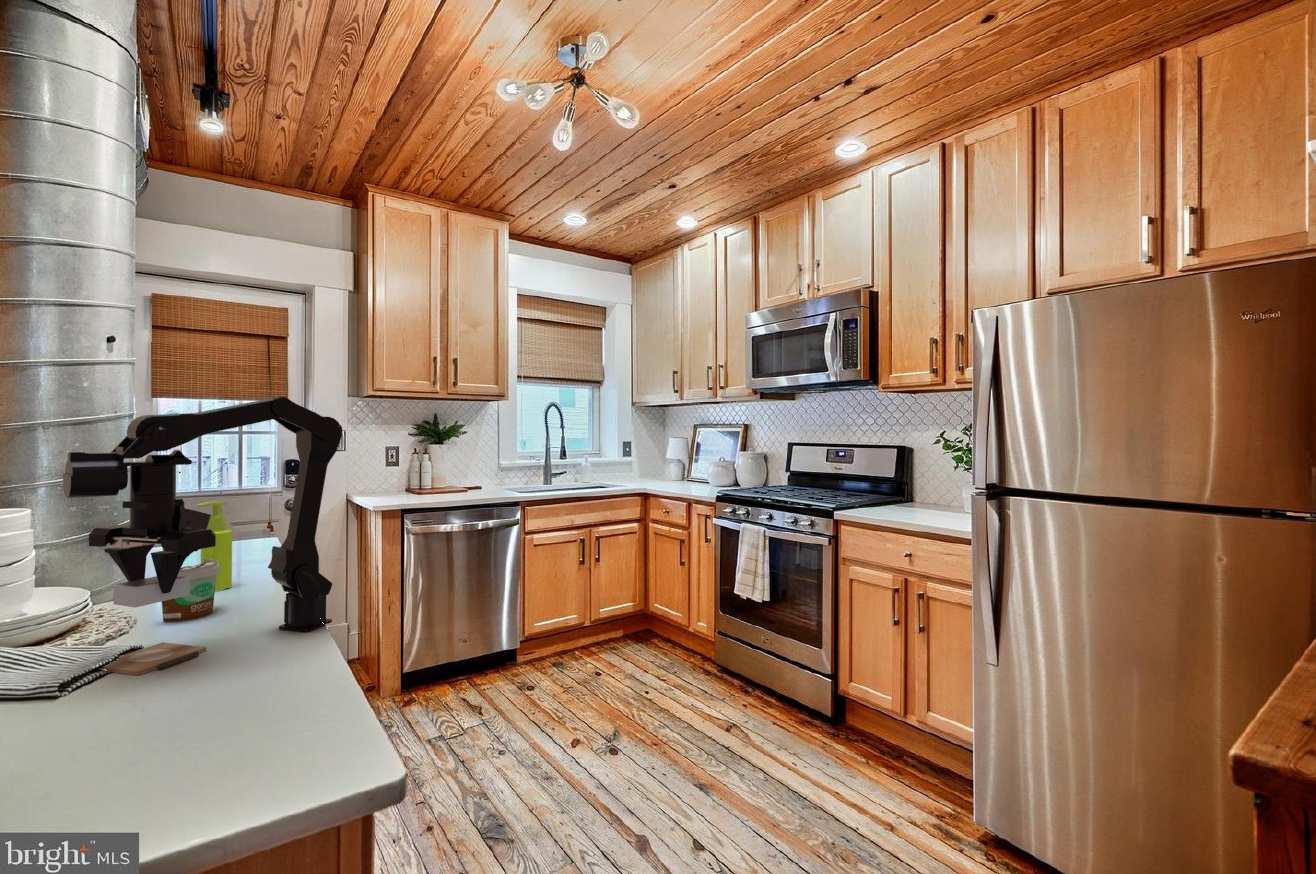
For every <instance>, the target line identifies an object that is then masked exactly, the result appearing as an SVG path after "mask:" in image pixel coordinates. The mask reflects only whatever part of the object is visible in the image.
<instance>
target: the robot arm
mask: <svg viewBox="0 0 1316 874" xmlns="http://www.w3.org/2000/svg"><path fill="white" fill-rule="evenodd" d="M272 420H273V421H275V422H276V423H278V424H279V425H281V426H282V427H283V428H285V429H287V430H288V431H289V432H291V433H293V434H295V445H296V446H295V447H296V451H297V456H298V458H299V467H298V472H297V479H296V483H295V490H294V494H293V500H292V501H293V502H292V507H291V512H290V517H289V522H288V523H289V524H288V530H287V535H286V538H285V540H283V542H282V544H281V546H276V545H274V546H272V548H271V561H270V563H269V564H268V566H267V568H268V569H270V570H271V571H270V572H271V577H272V578H273V580H274V581H275V583H278V584H280V585H281V589H283V592H286V593H285V600H284V603H283V604H284V605H283V606H284V607H283V610H284V611H283V615H284V616H283V622H284V623H283V624H280V625H279V626H278V629H279V630H286V631H296V632H310V631H313V630H316V629H318V628H320V627H323V626H325V625H328V624H330V623H333V619H332V618H327V596H328V595H329V594H330V592H331V590H332V587H333V582H331V581H330V580H329V579H328V578H327V577H325V576H324V575H323V574H321V573H320V555H319V551H318V547H317V544H316V535H317V529H318V522H319V518H320V517H319V516H320V512H321V505H322V500H323V494H324V488H325V481H326V476H327V470H328V465H329V464H330V462H331V460H332V459H333V457H334V456H335V454H336V453H337V451H338V448H339V446H340V442H341V440H342V438H343V427H342V425H341V424H340V422H339V421H338V420H337V419H335V418H334V417H331V416H322V415H320V414H319V413H317V412H316V411H313V410H310V409H308V408H306V407H304V406H302V405H299V404H297V403H296V402H294V401H292V400H291V399H289V398H288V397H286V396H281V395H280V396H269V397H267V398H264V399H261V400H255V401H250V402H246V403H240V404H234V405H229V406H224V407H220V408H215V409H209V410H208V409H207V410H203V411H199V412H193V413H192V412H191V413H168V414H167V413H165V414H146V415H140V416H138V417H136V418H134V419H133V420H132V421H131V422H130V423H129V424H128V426H127V429H126V436H125V437H124V438H123V439H122V440H120V442H119V443H118V444H117V445H116V446H115V447H114V448H113V449H112V450H111V451H110V452H82V451H69V452H68V453H67V460H66V464H65V466H64V467H65V468H64V473H62V487H63V493H64V496H65V499H81V498H82V499H83V498H95V497H96V498H97V497H99V498H100V497H114V496H118V494H119V491H123V490H126V489H127V487H128V481H129V500H124V501H122V509H129V523H121V524H114V525H107V526H106V525H105V526H99V527H94V528H93V529H92V531H90V532H89V534H88V546H89V547H98V548H103V547H106V546H107V545H108V544H109V548H104V549H103V551H104V553H107V554H108V555H109V556H110V558H111V559H112V560H113V561H114V563H115V564H116V565H117V567H118V568H119V570H120V571H121V573H122V574H123V576H124V578H125V579H126V580H127V582H130V581H135V580H140V579H145V578H146V568H147V567H146V565H147V558H148V557H147V556H148V554H149V553H150V552H151V550H153V548H154V547H155V545H160V546H161V548H162V550H159V551H155V552H151V553H150V557H151V559H152V564H153V567H154V571H155V574H156V576H157V579H158V583H159V586H160V589H161V591H162V593H163V594H166V593H170V592H171V590H172V587H173V585H174V583H175V580H176V578H177V576H178V573H179V571H180V569H181V568H182V567H183V564H184V562H185V560H186V559H187V558H188V557H189V556H190V555H191V554H193V553H194V552H198V551H199V550H201V549H204V548H209V547H214V546H216V534H215V533H214V532H213V531H212V530H211V529H208V524H209V521H210V518H211V515H212V514H210V513H205V512H202V511H198V510H195V509H190V508H185V501H184V499H183V498H177V466H178V465H179V466H181V465H182V466H185V465H186V466H188V465H192V464H193V460H192V459H190V458H189V457H186V455H184V454H183V452H182V451H181V450H179V449H174V448H177V447H179V446H181V445H185V444H187V443H189V442H192V441H194V440H196V439H198V438H200V437H202V436H205V435H209V434H212V433H216V432H222V431H227V430H230V429H234V428H239V427H240V428H241V427H244V426H249V425H254V424H258V423H261V422H267V421H272ZM171 449H174V450H173V451H171V453H169V454H151V453H152V452H167V451H169V450H171ZM145 456H146V458H145V461H143V460H142V461H125V459H142V458H144V457H145ZM128 467H129V472H128ZM320 618H321V619H320ZM322 622H323V623H324V624H325V625H324V624H323V623H322Z"/></svg>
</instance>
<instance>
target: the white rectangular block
mask: <svg viewBox="0 0 1316 874" xmlns="http://www.w3.org/2000/svg"><path fill="white" fill-rule="evenodd" d="M189 594H190V577H189V576H181V575H178V576H177V578H176V580H175V583H174V585H173V587H172V590H171V592H170V593H166V594H163V593H162V591H161V589H160V586H159V583H158V579H157V575H156V576H151V577H147V578H146V577H145V579H140V580H135V581H130V582H128V581H127V582H121V583H117V584H113V596H112V597H113V599H112V600H113V602H112V605H116V606H123V607H129V608H139V607H143V606H148V605H152V604H157V603H162V601H166V600H170V599H174V598H178V597H183V596H187V595H189Z"/></svg>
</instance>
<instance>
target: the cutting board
mask: <svg viewBox="0 0 1316 874" xmlns="http://www.w3.org/2000/svg"><path fill="white" fill-rule="evenodd" d="M204 652H207V647H205V646H198V645H189V644H188V645H187V644H182V643H181V644H180V643H172V642H171V643H170V642H160V643H156V644H153V645H150V646H148V647H144V648H141V649H138V650H136V651H132V652H130V653H129V652H128V653H125V654H122V655H120V656H121V657H119V656H118V657H119V658H120V659H118V660H117V661H116V662H113V663H111V664H109V665H106V666H105V667H104V668H105V669H106V670H107V671H108V673H116V674H124V675H129V676H131V675H132V676H141V675H143V674H146V673H149V672H152V671H155V670H158V671H161V670H164V669H166V668H168V667H172V666H174V665H177V664H179V663H180V664H181V663H183V662H185V661H188V660H191V659H193V658H196V657H198V656H199V655H200V654H201V653H204ZM107 671H106V672H107Z"/></svg>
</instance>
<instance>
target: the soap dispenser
mask: <svg viewBox="0 0 1316 874" xmlns="http://www.w3.org/2000/svg"><path fill="white" fill-rule="evenodd" d="M223 505H227V502H226V501H205V502H201V503H197V504H195V506H196V507H198V508H203V507H207V506H208V507H209V506H212V514H210V515H211V518H210V521H209V524H208V527H207V529H211V530H212V531H213V532H214V533H215V534H216V546H214V547H209V548H204V549H200V564H202V563H204V559H214V560H217V562H218V564H219V566H220V570H221V572H220V573H218V574H217V576H216V585H215V592H217V591H216V590H222V589H226V588H230V587H231V588H232V581H233V579H232V578H233V577H232V576H233V575H232V574H233V573H232V571H233V530H231V529H227V517H226V515H224V514H222V511H223V509H222V508H223V507H222V506H223ZM231 588H230V589H231ZM222 591H223V590H222Z"/></svg>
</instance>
